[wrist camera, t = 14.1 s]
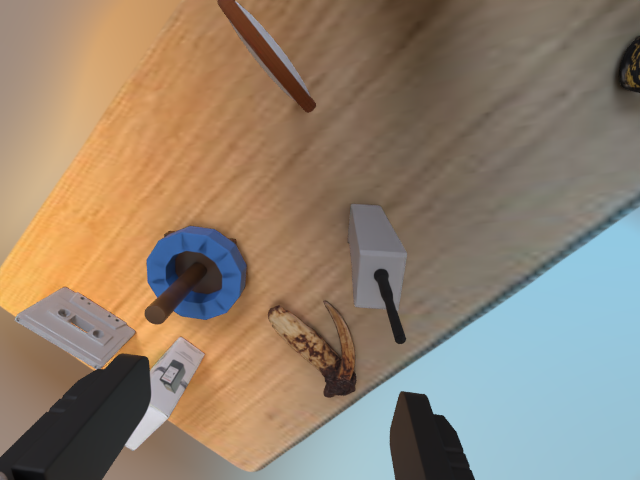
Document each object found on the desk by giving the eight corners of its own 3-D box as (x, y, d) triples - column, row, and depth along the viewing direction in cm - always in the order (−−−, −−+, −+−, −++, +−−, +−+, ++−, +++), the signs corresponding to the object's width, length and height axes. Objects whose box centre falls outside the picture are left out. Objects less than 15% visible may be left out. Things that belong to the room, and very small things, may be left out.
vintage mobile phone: (347, 240, 42) (361, 382, 19) (350, 203, 40) (370, 308, 17) (375, 242, 42) (426, 387, 18) (380, 204, 40) (441, 313, 17)
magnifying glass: (266, 58, 36) (187, -19, 17) (277, 47, 35) (209, -46, 16) (316, 122, 37) (295, 116, 19) (327, 112, 37) (318, 96, 18)
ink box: (176, 384, 52) (132, 454, 41) (150, 367, 51) (99, 434, 40) (206, 353, 49) (169, 419, 38) (180, 334, 48) (134, 396, 37)
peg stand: (169, 230, 43) (106, 269, 31) (236, 239, 43) (198, 281, 31) (172, 289, 46) (115, 345, 34) (234, 297, 46) (199, 356, 34)
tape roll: (156, 220, 41) (144, 226, 38) (248, 234, 41) (243, 241, 39) (159, 301, 45) (149, 311, 43) (243, 314, 45) (238, 324, 43)
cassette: (60, 292, 47) (10, 322, 40) (66, 283, 46) (16, 312, 39) (132, 337, 49) (97, 373, 42) (138, 329, 49) (103, 364, 41)
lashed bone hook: (384, 357, 49) (306, 275, 44) (390, 380, 44) (304, 292, 40) (337, 388, 51) (258, 313, 46) (338, 413, 46) (251, 333, 42)
